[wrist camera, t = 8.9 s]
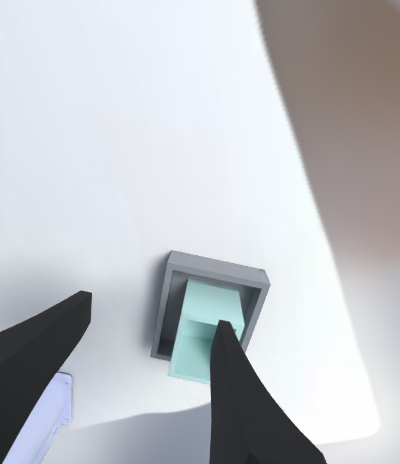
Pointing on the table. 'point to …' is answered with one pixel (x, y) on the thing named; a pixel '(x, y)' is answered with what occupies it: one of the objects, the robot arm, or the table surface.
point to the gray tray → (212, 271)
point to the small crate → (202, 328)
